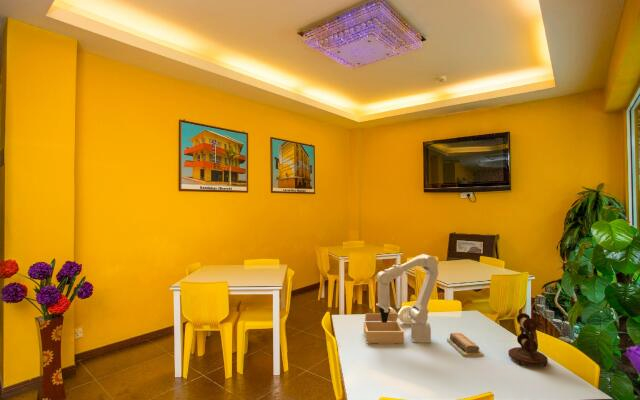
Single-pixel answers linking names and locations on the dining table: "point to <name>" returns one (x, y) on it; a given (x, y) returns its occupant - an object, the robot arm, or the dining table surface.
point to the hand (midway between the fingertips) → (384, 322)
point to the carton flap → (378, 316)
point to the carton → (383, 332)
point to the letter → (402, 314)
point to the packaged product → (464, 345)
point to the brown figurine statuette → (527, 343)
